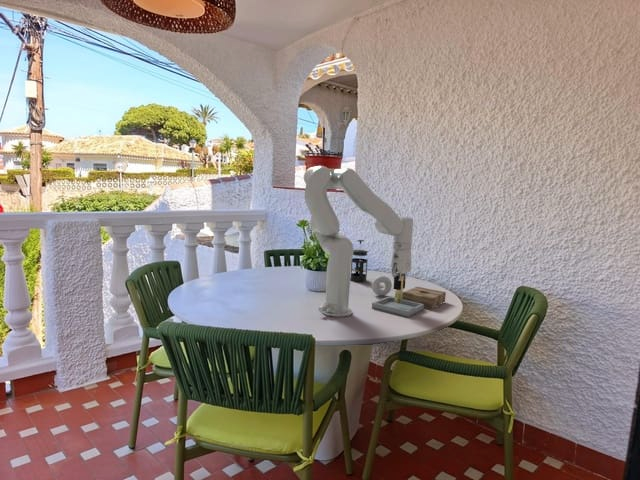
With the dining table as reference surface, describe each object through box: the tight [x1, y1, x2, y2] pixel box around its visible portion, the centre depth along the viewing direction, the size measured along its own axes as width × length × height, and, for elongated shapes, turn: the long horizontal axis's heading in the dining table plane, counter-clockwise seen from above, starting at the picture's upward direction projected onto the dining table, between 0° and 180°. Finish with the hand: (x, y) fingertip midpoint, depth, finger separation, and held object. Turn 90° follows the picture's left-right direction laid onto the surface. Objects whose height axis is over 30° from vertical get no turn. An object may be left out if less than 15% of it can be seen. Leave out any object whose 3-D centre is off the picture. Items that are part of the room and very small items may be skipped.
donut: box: [371, 275, 393, 297], centre depth 186 cm, size 10×4×10 cm, turn 99°
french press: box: [350, 239, 369, 283], centre depth 215 cm, size 12×9×23 cm
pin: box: [394, 275, 404, 304], centre depth 165 cm, size 3×3×12 cm
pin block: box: [402, 286, 447, 310], centre depth 177 cm, size 16×14×5 cm
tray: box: [371, 296, 425, 319], centre depth 166 cm, size 15×17×2 cm
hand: (399, 288), depth 165 cm, fingers closed on pin, 3 cm apart
